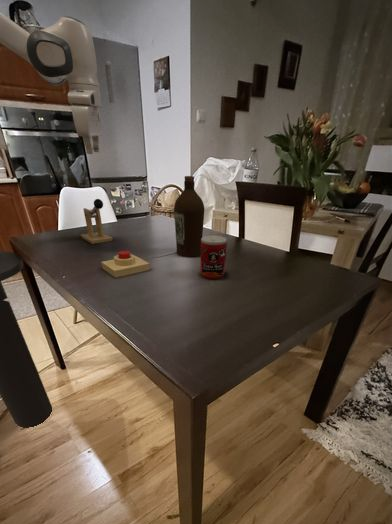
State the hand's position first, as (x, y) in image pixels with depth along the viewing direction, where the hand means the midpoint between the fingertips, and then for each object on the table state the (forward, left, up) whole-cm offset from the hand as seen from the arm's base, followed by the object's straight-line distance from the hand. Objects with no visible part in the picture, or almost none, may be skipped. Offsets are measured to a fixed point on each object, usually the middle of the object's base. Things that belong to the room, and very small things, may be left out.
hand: (93, 153), depth 95 cm
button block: (-6, -28, -31) cm, 42 cm away
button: (-6, -28, -27) cm, 39 cm away
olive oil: (+21, -26, -31) cm, 45 cm away
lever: (0, +7, -20) cm, 21 cm away
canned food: (+14, -48, -31) cm, 59 cm away
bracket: (0, +12, -31) cm, 33 cm away
